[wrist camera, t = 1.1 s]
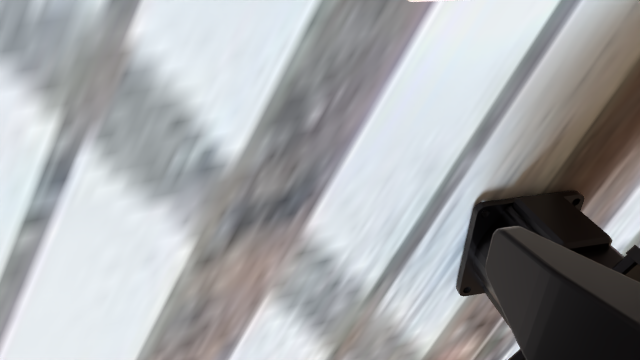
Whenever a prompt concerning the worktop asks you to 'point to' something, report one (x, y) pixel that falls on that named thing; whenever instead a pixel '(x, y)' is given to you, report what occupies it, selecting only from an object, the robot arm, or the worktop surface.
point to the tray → (427, 0)
